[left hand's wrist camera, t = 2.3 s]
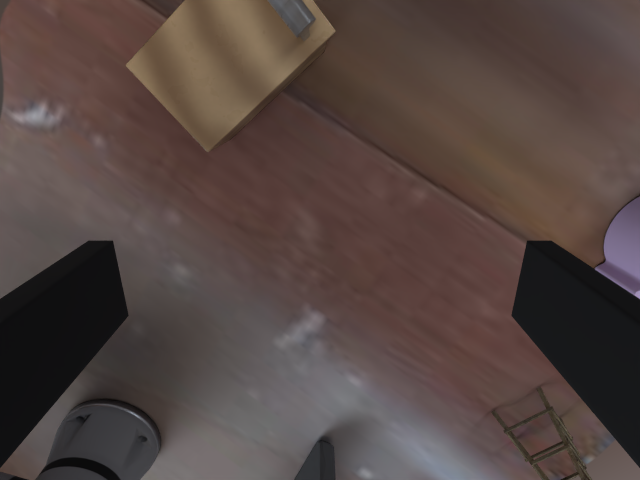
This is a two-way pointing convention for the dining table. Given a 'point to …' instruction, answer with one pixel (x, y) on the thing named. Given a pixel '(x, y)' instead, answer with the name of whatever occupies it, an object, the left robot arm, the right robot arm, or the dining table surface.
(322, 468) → the rounded dark grey slab
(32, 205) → the dining table surface
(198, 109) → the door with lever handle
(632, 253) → the purple wavy organizer
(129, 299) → the dining table surface
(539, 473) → the miniature windmill
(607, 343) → the left robot arm
